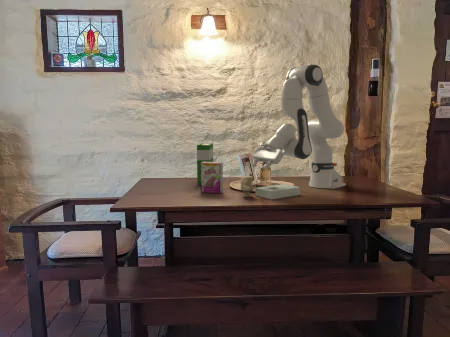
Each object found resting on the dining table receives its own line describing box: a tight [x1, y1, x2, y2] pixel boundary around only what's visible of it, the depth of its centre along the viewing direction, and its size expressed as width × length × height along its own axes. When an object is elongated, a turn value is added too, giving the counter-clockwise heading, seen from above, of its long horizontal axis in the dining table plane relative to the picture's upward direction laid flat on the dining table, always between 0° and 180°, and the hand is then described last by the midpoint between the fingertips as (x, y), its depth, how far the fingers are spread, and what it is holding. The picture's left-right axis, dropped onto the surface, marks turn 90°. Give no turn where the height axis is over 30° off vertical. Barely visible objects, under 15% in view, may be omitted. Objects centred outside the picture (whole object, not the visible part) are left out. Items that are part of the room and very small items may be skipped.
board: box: [255, 183, 301, 200], centre depth 197 cm, size 20×12×4 cm, turn 125°
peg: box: [240, 175, 254, 198], centre depth 194 cm, size 6×6×10 cm
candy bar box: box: [200, 161, 224, 194], centre depth 204 cm, size 11×5×16 cm, turn 74°
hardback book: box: [196, 142, 214, 186], centre depth 235 cm, size 18×7×24 cm, turn 174°
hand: (258, 167), depth 197 cm, fingers open, 8 cm apart
